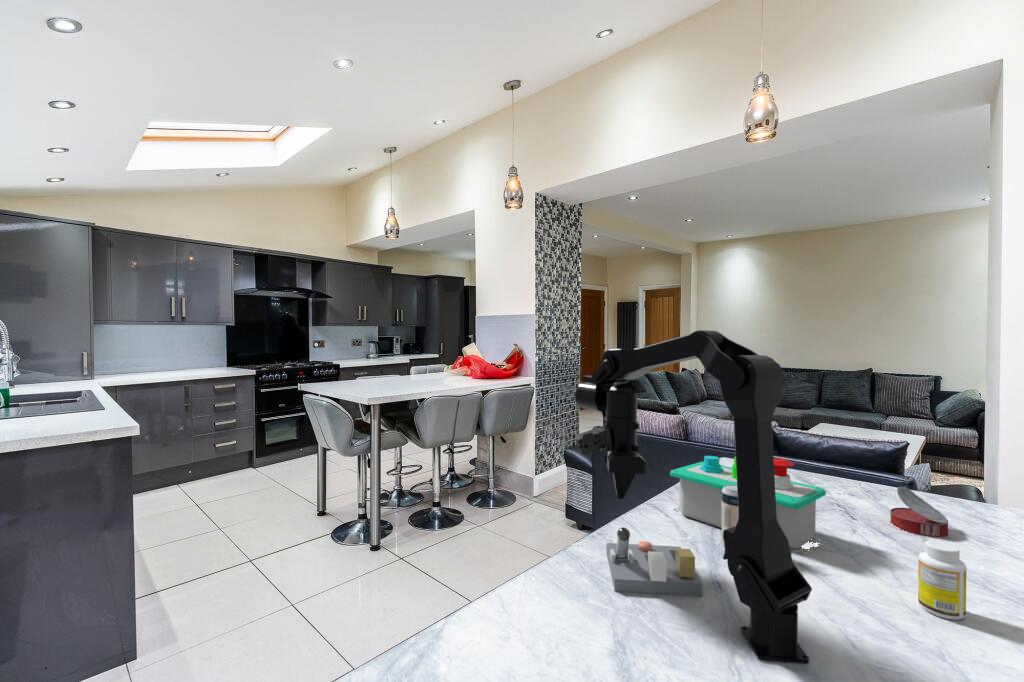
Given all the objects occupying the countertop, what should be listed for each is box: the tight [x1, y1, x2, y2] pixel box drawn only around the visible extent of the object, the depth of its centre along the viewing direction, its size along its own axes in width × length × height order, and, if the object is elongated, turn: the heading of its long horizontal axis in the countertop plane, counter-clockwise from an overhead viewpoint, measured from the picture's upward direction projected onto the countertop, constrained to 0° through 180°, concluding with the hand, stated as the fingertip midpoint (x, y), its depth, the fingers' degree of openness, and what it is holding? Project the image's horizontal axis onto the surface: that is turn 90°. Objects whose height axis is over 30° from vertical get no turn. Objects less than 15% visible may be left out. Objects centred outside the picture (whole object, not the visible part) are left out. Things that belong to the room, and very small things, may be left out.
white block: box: [648, 551, 666, 582], centre depth 79 cm, size 3×2×4 cm
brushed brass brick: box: [675, 548, 696, 578], centre depth 81 cm, size 3×2×4 cm
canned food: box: [890, 485, 949, 538], centre depth 107 cm, size 11×10×10 cm
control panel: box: [669, 455, 827, 555], centre depth 108 cm, size 15×17×30 cm
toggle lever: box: [616, 527, 631, 560], centre depth 85 cm, size 2×2×7 cm
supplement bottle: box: [917, 540, 967, 621], centre depth 74 cm, size 6×6×10 cm
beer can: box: [720, 485, 739, 547], centre depth 96 cm, size 5×5×12 cm
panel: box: [606, 540, 703, 597], centre depth 85 cm, size 14×14×3 cm
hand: (620, 498), depth 90 cm, fingers closed
